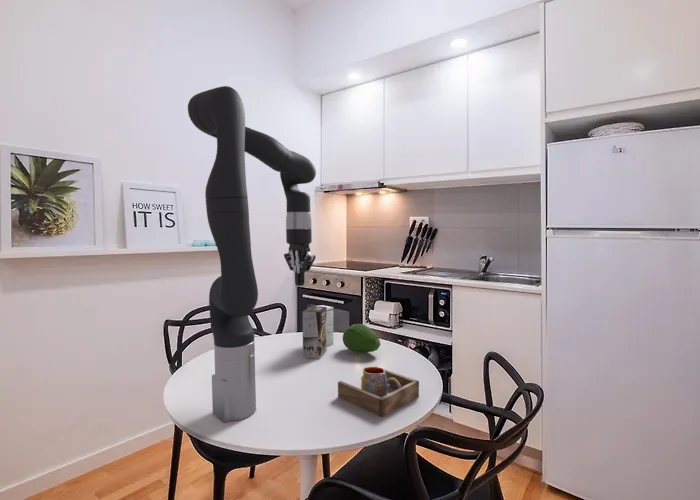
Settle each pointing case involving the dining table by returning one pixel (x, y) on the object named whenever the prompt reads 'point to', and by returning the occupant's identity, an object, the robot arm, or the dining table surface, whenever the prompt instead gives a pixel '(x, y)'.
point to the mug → (376, 381)
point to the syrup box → (329, 324)
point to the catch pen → (384, 403)
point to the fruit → (360, 339)
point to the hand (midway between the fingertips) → (299, 285)
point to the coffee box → (314, 332)
